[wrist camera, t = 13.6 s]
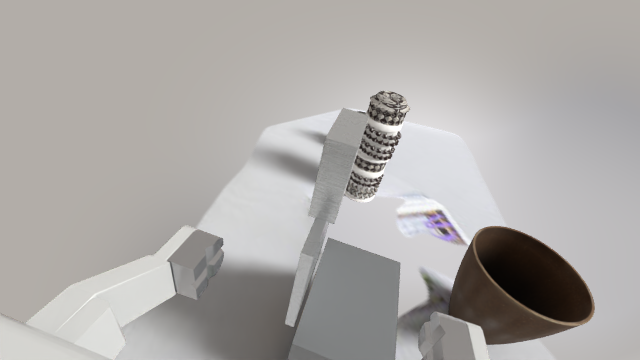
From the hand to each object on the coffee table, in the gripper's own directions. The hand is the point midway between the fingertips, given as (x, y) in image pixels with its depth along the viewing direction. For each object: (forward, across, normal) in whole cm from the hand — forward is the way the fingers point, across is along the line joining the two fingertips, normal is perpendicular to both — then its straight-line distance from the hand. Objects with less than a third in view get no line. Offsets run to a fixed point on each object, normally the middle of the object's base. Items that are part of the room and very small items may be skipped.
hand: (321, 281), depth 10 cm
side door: (+13, +2, +20) cm, 24 cm away
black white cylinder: (+51, -3, +31) cm, 59 cm away
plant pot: (+26, -26, +32) cm, 49 cm away
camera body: (+15, -4, +33) cm, 36 cm away
